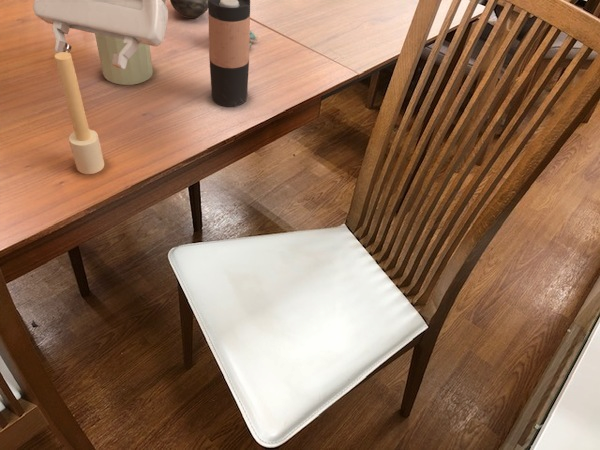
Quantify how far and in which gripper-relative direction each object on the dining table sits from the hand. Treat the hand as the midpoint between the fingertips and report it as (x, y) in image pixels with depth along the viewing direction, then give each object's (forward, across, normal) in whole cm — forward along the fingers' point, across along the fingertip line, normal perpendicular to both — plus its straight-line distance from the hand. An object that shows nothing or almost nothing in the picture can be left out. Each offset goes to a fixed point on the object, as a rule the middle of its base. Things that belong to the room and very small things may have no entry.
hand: (89, 60), depth 78 cm
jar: (-6, -8, +28) cm, 30 cm away
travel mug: (-5, +14, +28) cm, 32 cm away
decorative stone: (-27, -7, +51) cm, 58 cm away
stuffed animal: (-20, +8, +44) cm, 49 cm away
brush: (+16, 0, +7) cm, 17 cm away
